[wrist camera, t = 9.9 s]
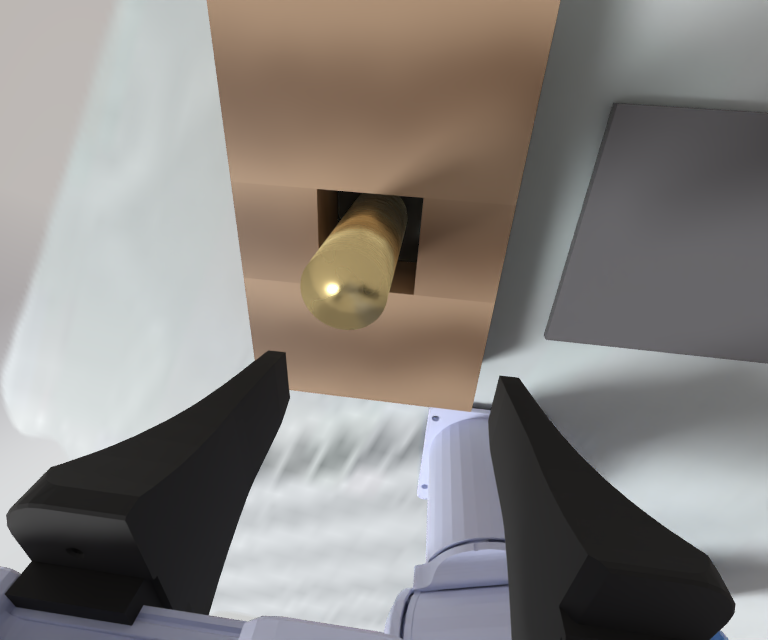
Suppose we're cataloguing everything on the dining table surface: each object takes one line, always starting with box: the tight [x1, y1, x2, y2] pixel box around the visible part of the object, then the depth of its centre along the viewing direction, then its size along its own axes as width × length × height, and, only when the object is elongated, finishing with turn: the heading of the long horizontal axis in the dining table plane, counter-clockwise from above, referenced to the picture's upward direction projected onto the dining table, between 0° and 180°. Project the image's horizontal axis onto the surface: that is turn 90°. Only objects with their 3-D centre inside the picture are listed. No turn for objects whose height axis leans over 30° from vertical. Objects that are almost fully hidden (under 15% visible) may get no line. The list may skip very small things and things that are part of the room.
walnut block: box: [207, 0, 561, 412], centre depth 20 cm, size 18×12×4 cm, turn 177°
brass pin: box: [300, 193, 408, 330], centre depth 18 cm, size 3×3×9 cm
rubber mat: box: [544, 103, 768, 363], centre depth 20 cm, size 12×12×1 cm
